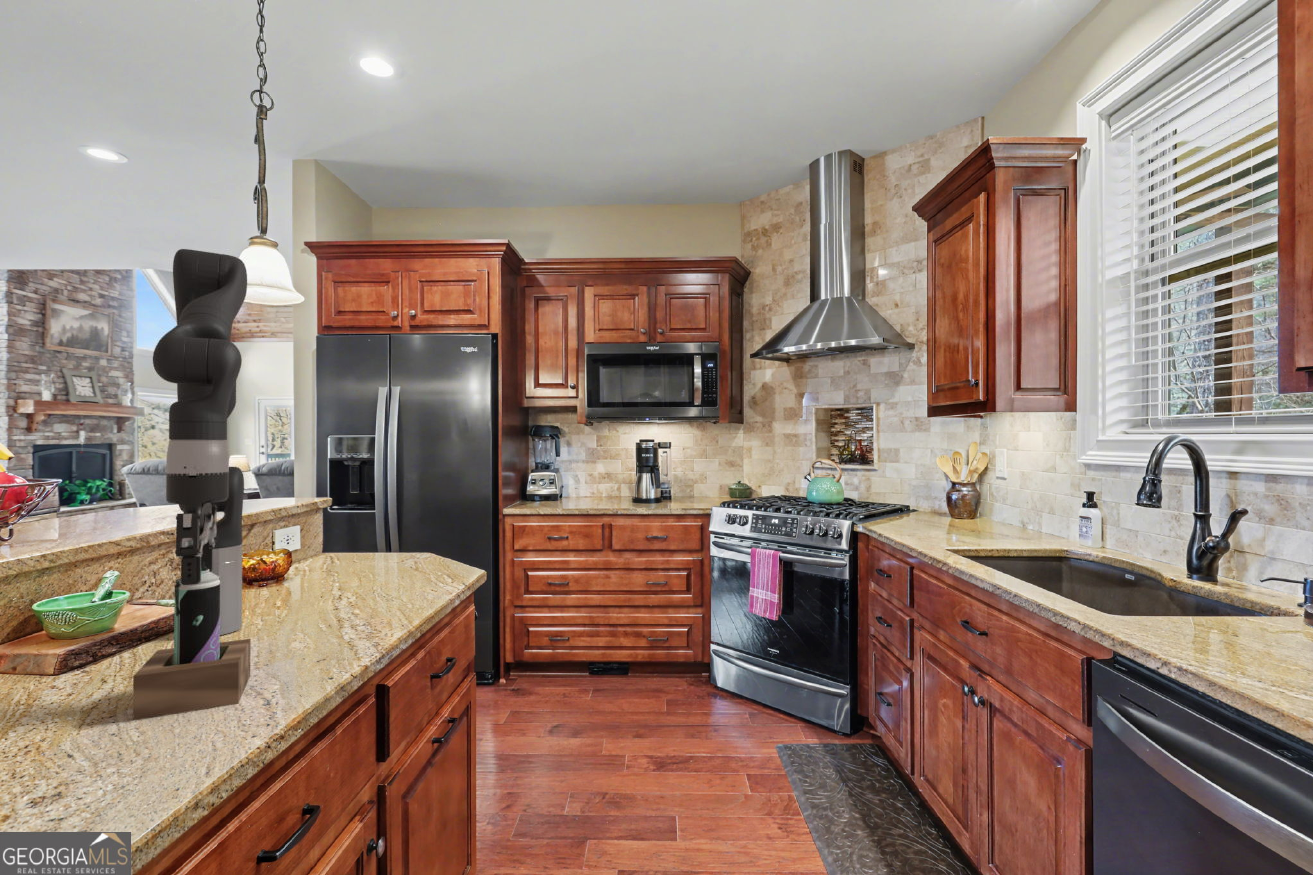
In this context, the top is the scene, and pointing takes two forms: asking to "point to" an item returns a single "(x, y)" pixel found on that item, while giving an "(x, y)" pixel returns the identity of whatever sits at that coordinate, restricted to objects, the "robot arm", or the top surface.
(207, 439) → the robot arm
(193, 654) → the spray can
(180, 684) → the walnut holder
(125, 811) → the top surface
